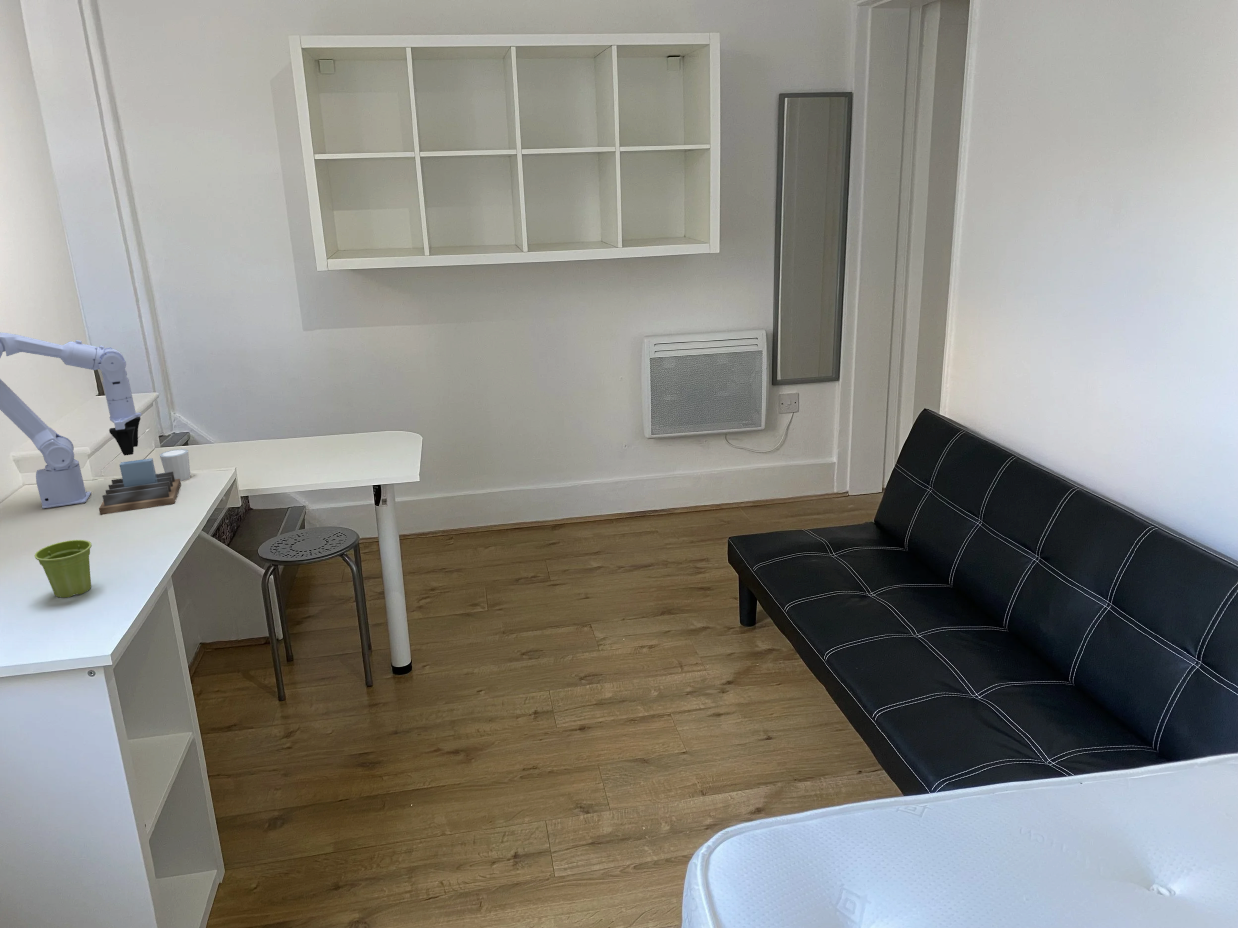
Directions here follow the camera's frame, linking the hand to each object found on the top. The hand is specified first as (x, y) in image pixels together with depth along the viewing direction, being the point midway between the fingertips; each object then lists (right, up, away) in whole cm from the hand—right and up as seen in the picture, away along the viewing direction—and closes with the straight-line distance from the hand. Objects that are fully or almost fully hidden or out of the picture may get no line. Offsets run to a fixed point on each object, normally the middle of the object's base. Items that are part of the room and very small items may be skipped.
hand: (130, 450), depth 235 cm
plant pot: (+19, -28, -57) cm, 66 cm away
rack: (+6, -12, -5) cm, 14 cm away
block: (+6, -10, -6) cm, 13 cm away
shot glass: (+8, -7, +9) cm, 14 cm away
